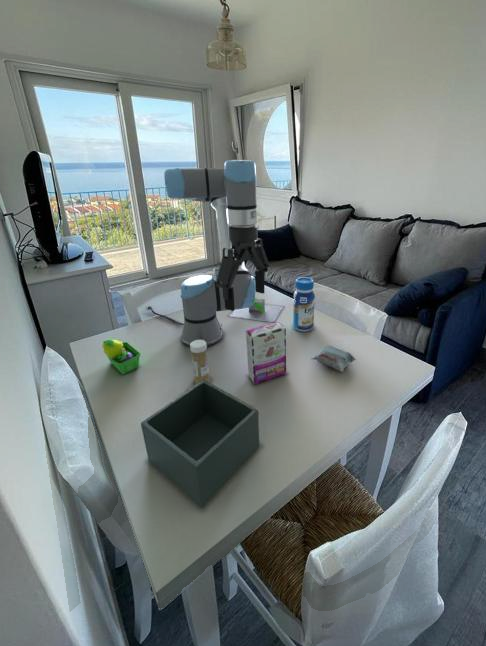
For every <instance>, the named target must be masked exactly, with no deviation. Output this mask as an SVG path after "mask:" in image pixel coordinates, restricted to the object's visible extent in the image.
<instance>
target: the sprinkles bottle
mask: <svg viewBox="0 0 486 646" xmlns="http://www.w3.org/2000/svg"><path fill="white" fill-rule="evenodd" d="M207 348H208V346H206V342H205V341H204V340H195V341H193V342H191V344H190V346H189V349H190V352H191V361H192V369H193V375H194V384H195V385H197V384H198V383H200V382H201V381H203V380H205V381H207V382H209V383H210V381H211V378H210V374H209V371H210V369H209V363H208V354H207Z"/></svg>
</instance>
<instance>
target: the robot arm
mask: <svg viewBox="0 0 486 646" xmlns="http://www.w3.org/2000/svg"><path fill="white" fill-rule="evenodd" d="M163 174H164V176H163V177H164V178H163V179H164V186H165V193H166V196H167V197H168V198H169V199H175V200H182V199H183V200H184V199H185V200H188V201H194V202H199V203H207V202H208V203H209V202H210V206H211V207H212V208H213V210H215V215H216V216H215V217H216V225H217V234H218V242H219V253H220V266H219V270H218V274H217V277H216V279H215V278H214V277H213V276H212V275H210V274H207V275H206V274H199V275H196V276H192V277H189V278H188V279H186V280H184V281H183V282H182V284H181V285H180V298H181V303H182V310H183V311H182V312H183V319H184V320H183V322H180V321H177V320H175V319H173V318H171V317H169V316H166V315H163V314H161V313H158V312H155V311H154V309H153V308H152V306H151V305H150V306H148V307H147V309H148V310H149V309H150V311H151V312H152V313H153V314H154V315H156V316H159V317H162V318H165V319H167V320H170V321H171V322H173V323H176V324H178V325H181V326H182V331H181V334H180V335H181V337H180V338H181V342H182V343H183V344H184V345H186V346H188V347H190V344H191V342H193V341H195V340H204V341H205V342H206V347H209V346H212V345H215V344H216V343H218V342H219V341H221V339H222V338H223V337H224V336H223V335H224V333H223V328H222V327H223V323H221V324H220V321H219V319H218V317H217V312H222V311H223V312H226V311H231V312H233V311H234V310H235V309H243V308H249V307H252V306H253V304H254V301H255V298H256V293H259V294H261V295H262V294H263V295H264V294H265V292H266V291H265V280H266V278H265V277H266V275H265V272H266V273H267V272H269V267H270V262H269V259H268V257H267V254H266V251H265V248H264V243H263V239H262V238H259V236H258V232H259V231H258V225H257V224H258V210H257V208H258V205H257V203H258V201H257V200H258V199H257V197H258V196H257V177H258V173H257V168H256V162H255V161H254V160H252V159H248V160H247V159H231V160H230V159H229V160H226V161H225V162H224V167H204V168H203V167H202V168H201V167H200V168H197V167H195V168H192V167H191V168H186V167H185V168H180V167H175V168H167V169H165V171H164V172H163ZM248 260H249V261H250V262H251V264H252V265H253V266H254V268H255V269H256V270H255V271H254V276H253V275H251V273H250V270H249V269H248V268H247V267H246V264H245V262H246V261H248Z"/></svg>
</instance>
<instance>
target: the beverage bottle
mask: <svg viewBox="0 0 486 646" xmlns="http://www.w3.org/2000/svg"><path fill="white" fill-rule="evenodd" d="M314 283H315V282H314V279H313V278H311V277H303V276H302V277H298V278H296V279H295V289H296V290H295V291H294V293H293V301H292V305H293V308H292V309H293V310H292V312H293V317H292V318H293V320H292V321H293V322H292V326H293V329H294V330H296V331H299V332H309V331H311V330H313V328H314V325H315V323H314V321H315V307H316V301H315V298H316V296H315V292H314V291H313V290H314Z"/></svg>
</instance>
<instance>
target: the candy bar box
mask: <svg viewBox="0 0 486 646" xmlns="http://www.w3.org/2000/svg"><path fill="white" fill-rule="evenodd" d="M245 339H246V340H245V341H246V352H247V353H246V356H247V373H248V377H249V379H250V380H251V381H252V383H253V384H254V385H257V384H260V383H263V382H266V381H269V380H272V379H275V378H277V377H280V376H283V375H286V374H287V328H286V327H285V326H284V325H283V324H282V323H281V322H280V321H276V322H271V323H269V324H264V325H261V326H257V327H252V328H250V329H246V330H245Z"/></svg>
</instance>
